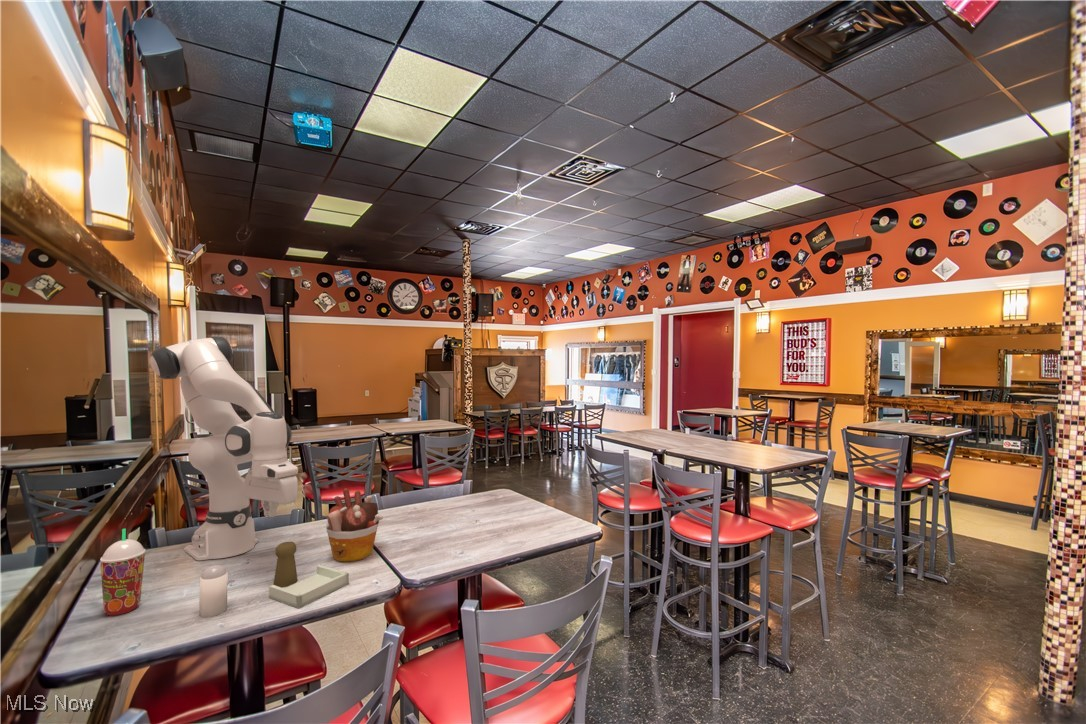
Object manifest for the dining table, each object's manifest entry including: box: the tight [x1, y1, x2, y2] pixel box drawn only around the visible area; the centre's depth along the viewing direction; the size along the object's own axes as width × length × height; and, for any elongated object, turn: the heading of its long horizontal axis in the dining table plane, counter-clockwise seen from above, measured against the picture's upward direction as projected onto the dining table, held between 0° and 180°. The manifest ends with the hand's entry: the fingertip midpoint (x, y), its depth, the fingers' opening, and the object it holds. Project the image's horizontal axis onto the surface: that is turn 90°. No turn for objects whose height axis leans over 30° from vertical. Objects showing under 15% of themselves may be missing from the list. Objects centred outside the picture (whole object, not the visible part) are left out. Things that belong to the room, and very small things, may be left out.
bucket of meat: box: [326, 487, 384, 563], centre depth 148 cm, size 20×16×20 cm
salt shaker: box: [198, 564, 229, 619], centre depth 113 cm, size 6×6×11 cm
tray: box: [268, 564, 350, 609], centre depth 124 cm, size 12×15×3 cm
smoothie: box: [99, 528, 146, 617], centre depth 114 cm, size 8×8×20 cm
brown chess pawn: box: [272, 541, 299, 588], centre depth 129 cm, size 6×6×11 cm
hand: (270, 516), depth 133 cm, fingers closed
